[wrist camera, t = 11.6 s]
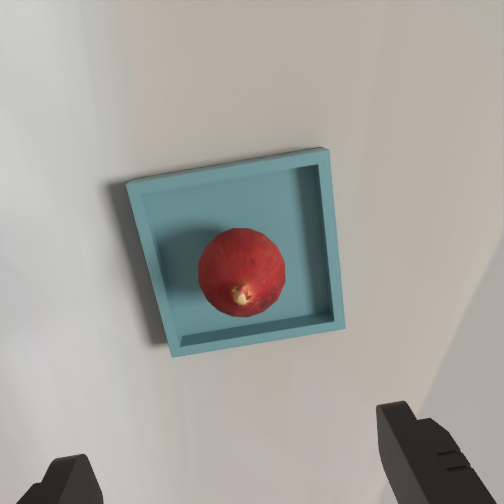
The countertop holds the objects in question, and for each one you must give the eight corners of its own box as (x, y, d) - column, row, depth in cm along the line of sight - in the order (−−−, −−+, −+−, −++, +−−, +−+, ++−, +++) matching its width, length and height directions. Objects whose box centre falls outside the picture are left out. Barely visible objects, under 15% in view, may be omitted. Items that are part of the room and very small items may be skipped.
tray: (133, 179, 28) (125, 184, 26) (321, 147, 28) (329, 149, 26) (175, 342, 33) (171, 357, 31) (338, 315, 33) (345, 328, 31)
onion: (294, 253, 30) (315, 301, 23) (240, 302, 31) (243, 363, 24) (240, 200, 29) (243, 231, 21) (186, 253, 30) (170, 301, 22)
